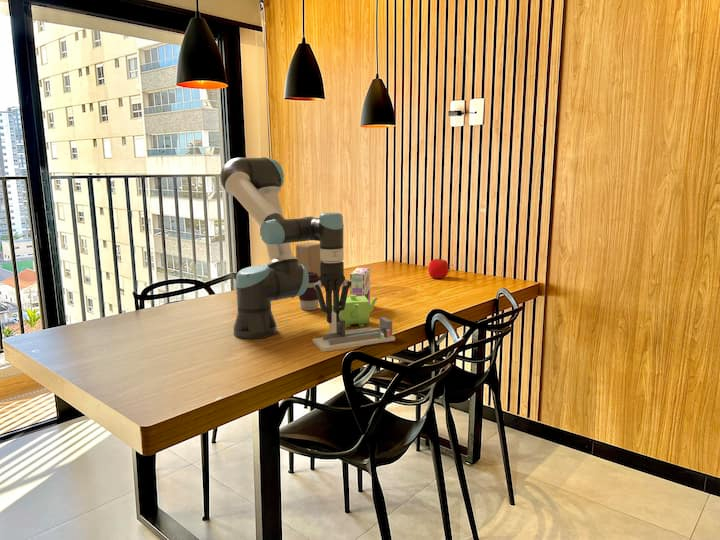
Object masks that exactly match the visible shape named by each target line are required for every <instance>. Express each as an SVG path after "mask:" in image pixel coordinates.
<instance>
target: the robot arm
mask: <svg viewBox="0 0 720 540" xmlns="http://www.w3.org/2000/svg"><path fill="white" fill-rule="evenodd" d="M219 175H220V184H221V186H222V188H223V190H224V191H225V192H226V193H227V194H228V195H230V196H232V197H234V198H235V199H236V201H238V202H239V203H240V205H241V206H242V207H243V208H244V209H245V210H246V211H247V212H248V214H249V215H250V216H251V217H252V218H253V219H254V221H255V222H256V223H257V224H258V225H259V235H260V237H261V240H262V241H263V243H264V244H265V245H266V250H267V253H268V259H269V261H268V263H267V265H265V264H264V265H263V264H262V265H261V264H260V265H259V264H258V265H251V266H247V267H244V268H241V269H240V270H239V271H238V272H237V273H236V276H235V277H236V278H235V288H236V301H237V302H236V304H237V313H236V318H235V322H234V325H233V335H234V336H235V337H236V338H237V337H238V338H240V339H248V340H249V339H250V340H251V339H252V340H253V339H262V338H267V337H271V336H273V335H275V334H277V332H278V328H277V322H276V319H275V318H274V315H273V312H272V302H274V301H279V300H285V299H290V298H291V299H293V298H295V297H299V296H300V295H302V294H303V293H304V292H305V291H306V289H307V286H308V282H309V276H308V271H307V269H306V268H305V266H304V265H301V264H299V262H298V258H296V256H294V255H293V251H292V247H291V243H298V242H300V243H301V242H306V241H307V242H309V241H315V242H316V241H317V242H319V243H320V260H321V261H322V262H321V263H320V273H321V276H320V278H319V281H318V282H317V283H314V284H313V287H314V288H315V290H316V293H317V297H318V305H319V307H320V311H322V312H323V313H326V322H327V323H328V324H329V329H328V330H329V333H337V327H336V322H339V313H340V311H341V310H344V308H345V304H346V299H347V297H348V294H349V291H350V290H349V289H350V286H351V284H352V283H351V281H350V280H348V279H346V277H345V272H344V271H345V269H344V265H345V264H344V262H343V261H344V258H345V257H344V219H343V218H344V217H343V214H342V213H340V212H322V213H320V214H319V217H313V216H303V217H301V218H288V219H286V218H285V217H284V214H283V210H282V206H281V202H280V197H279V194H280V192H281V190H282V189H281V188H282V186H283V185H284V182H285V181H284V180H285V175H284V170H283V167H282V165H281V163H279V161H278V160H276V159H275V158H271V157H270V158H269V157H265V156H264V157H235V158H231V159H230V160H228V161H226V162H225V164H224V165H223V166H222V168H221V170H220V174H219ZM322 286H323V288H324V291H325V298H324V293H323V291H322ZM341 286H342V288H341ZM340 288H341V289H340ZM340 291H341V293H340ZM339 297H340V301H339ZM332 305H333V310H334V312H333V311H332Z"/></svg>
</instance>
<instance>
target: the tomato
mask: <svg viewBox="0 0 720 540" xmlns="http://www.w3.org/2000/svg"><path fill="white" fill-rule="evenodd" d="M448 263H449V262H448V261H447V260H445V259H441V258H436V259H435V258H434V259H432V260H430V262H429V265H428V274H429V276H430V278H432V279H436V280H442V279H444V278H446V277H447V276H448V274H449V267H450V266H449V264H448Z"/></svg>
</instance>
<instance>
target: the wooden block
mask: <svg viewBox="0 0 720 540" xmlns="http://www.w3.org/2000/svg"><path fill="white" fill-rule="evenodd" d="M295 257H296V258H298V262H299V264H301V265H304V266H305V268H306V269H307V271H308V272H315V273H317V275H318V276H321V273H320V263H321V262H322V261H321V260H320V242H319V243H318V242H309V241H307V242H303V243H301V242H300V243H297V244H296V245H295Z"/></svg>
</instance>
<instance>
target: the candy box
mask: <svg viewBox="0 0 720 540" xmlns="http://www.w3.org/2000/svg"><path fill="white" fill-rule="evenodd" d="M370 269H371V268H370V267H356V268H355V269H354V270H353V271H351V272H350V275H349V277H350V279H349V281H351V283H352V284H351V286H350V287H349V289H350V290H349V294H350V295H357V296H365V297H366V298H367V299H368V301H369V306H370V304H371V283H370V282H371V280H370V279H371V276H370V275H371V274H370V273H371V272H370V271H371V270H370ZM350 295H349V296H350Z"/></svg>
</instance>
